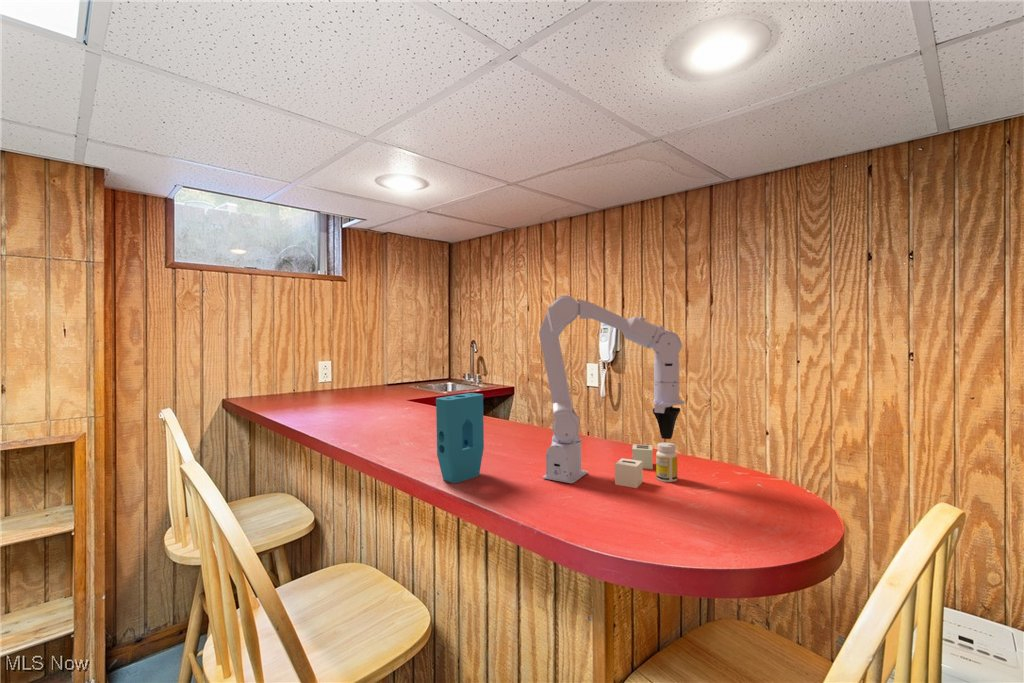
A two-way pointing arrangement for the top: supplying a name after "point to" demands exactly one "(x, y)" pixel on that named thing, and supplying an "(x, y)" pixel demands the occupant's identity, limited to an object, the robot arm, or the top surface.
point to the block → (460, 436)
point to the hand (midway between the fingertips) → (666, 438)
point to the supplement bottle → (666, 462)
